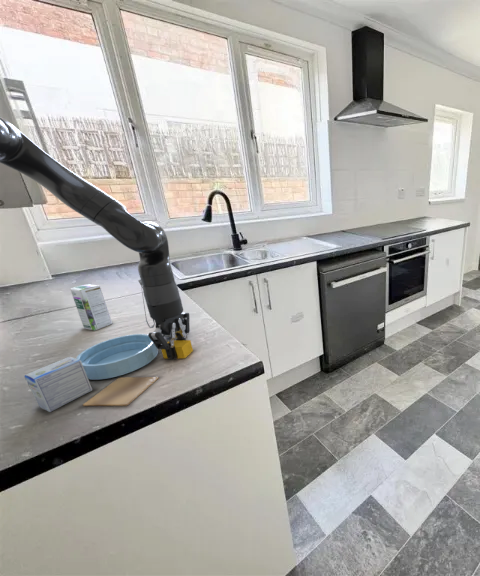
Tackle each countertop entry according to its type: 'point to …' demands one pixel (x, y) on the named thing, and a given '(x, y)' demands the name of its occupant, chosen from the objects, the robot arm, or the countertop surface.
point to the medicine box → (58, 383)
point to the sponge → (180, 348)
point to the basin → (117, 356)
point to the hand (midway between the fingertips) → (178, 354)
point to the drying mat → (121, 391)
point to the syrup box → (91, 306)
